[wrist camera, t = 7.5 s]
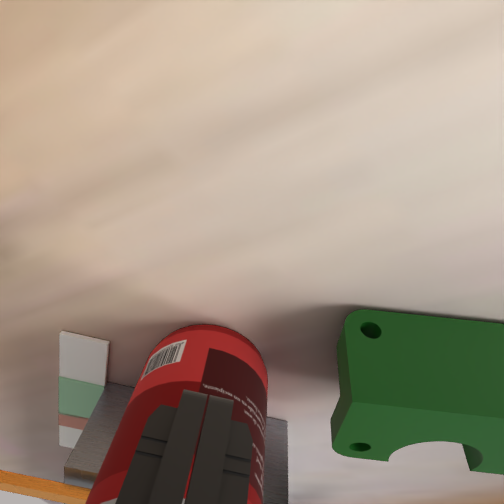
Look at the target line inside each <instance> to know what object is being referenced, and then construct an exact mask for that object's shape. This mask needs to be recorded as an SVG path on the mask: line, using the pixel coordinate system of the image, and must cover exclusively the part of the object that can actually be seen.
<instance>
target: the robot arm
mask: <svg viewBox="0 0 504 504" xmlns="http://www.w3.org/2000/svg"><path fill="white" fill-rule="evenodd" d="M207 395H208V394H203V393H199V392H194V391H190V390H185V389H184V390H183V393H182V396H181V399H180V402H179V406H178V408H175V407H171V406H166V405H162V404H161V405H160V406H159V407H158V408H157V409H156V410H155V411H154V412H153V413H152V414H151V415H150V416H149V417H148V419H147V422H146V424H145V427H144V429H143V432H142V435H141V438H140V440H139V443H138V445H137V448H136V451H135V454H134V456H133V458H132V461H131V464H130V466H129V469H128V471H127V474H126V477H125V479H124V482H123V485H122V487H121V490H120V492H119V495H118V498H117V500H116V503H115V504H182V502H183V497H184V493H185V489H186V485H187V480H188V476H189V472H190V468H191V463H192V459H193V455H194V451H195V446H196V442H197V438H198V434H199V429H200V425H201V421H202V417H203V412H204V408H205V404H206V400H207ZM233 403H234V400H230V399H226V398H221V397H217V396H213V395H210V396H209V400H208V405H207V409H206V413H205V417H204V421H203V425H202V429H201V434H200V438H199V442H198V446H197V451H196V455H195V459H194V464H193V468H192V472H191V477H190V481H189V486H188V490H187V494H186V499H185V503H184V504H247V500H248V490H249V476H250V468H251V457H252V447H253V440H252V436H251V433H250V430H249V427H248V424H247V423H242V422H238V421H234V420H231V416H232V410H233Z"/></svg>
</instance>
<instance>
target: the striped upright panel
mask: <svg viewBox="0 0 504 504" xmlns="http://www.w3.org/2000/svg"><path fill="white" fill-rule="evenodd" d="M109 342H110V341H106V340H101V339H97V338H92V337H88V336H84V335H79V334H75V333H70V332H66V331H61V332H60V334H59V446H63V447H68V448H73V449H74V447H75V445H76V443H77V441H78V439H79V437H80V435H81V433H82V431H83V429H84V427H85V425H86V423H87V421H88V420H89V418H90V416H91V414H92V412H93V410H94V408H95V406H96V404H97V402H98V400H99V398H100V396H101V394H102V392H103V390H104V388H105V386H106V379H107V367H108V354H109Z"/></svg>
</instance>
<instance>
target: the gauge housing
mask: <svg viewBox="0 0 504 504" xmlns="http://www.w3.org/2000/svg"><path fill="white" fill-rule="evenodd" d="M134 389H135V388H133V387H128V386H124V385H119V384H114V383H110V382H108V383H107V384H106V386H105V388H104V390H103V392H102V394H101V396H100V398H99V400H98V402H97V404H96V406H95V408H94V410H93V412H92V414H91V416H90V418H89V420H88V421H87V423H86V425H85V427H84V429H83V431H82V433H81V435H80V437H79V439H78V441H77V443H76V445H75V447H74V449H73V451H72V453H71V455H70V457H69V459H68V460H67V462H66V464H65V466H64V483H65V484H70V485H75V486H80V487H85V488H89V489H92V486H93V484H94V482H95V480H96V477H97V475H98V473H99V470H100V468H101V466H102V463H103V461H104V459H105V456H106V454H107V452H108V449H109V447H110V445H111V442H112V440H113V438H114V436H115V433H116V431H117V429H118V426H119V424H120V422H121V419H122V417H123V415H124V412H125V410H126V408H127V405H128V403H129V401H130V399H131V396H132V394H133V392H134ZM64 504H66V503H64ZM263 504H288V435H287V421H282V420H278V419H273V418H269V417H266V440H265V465H264V490H263Z"/></svg>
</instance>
